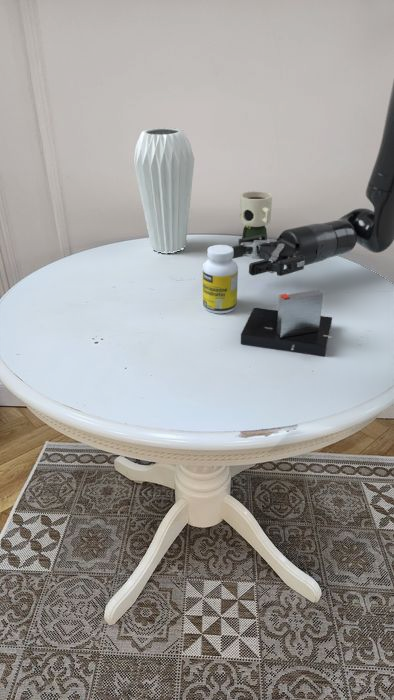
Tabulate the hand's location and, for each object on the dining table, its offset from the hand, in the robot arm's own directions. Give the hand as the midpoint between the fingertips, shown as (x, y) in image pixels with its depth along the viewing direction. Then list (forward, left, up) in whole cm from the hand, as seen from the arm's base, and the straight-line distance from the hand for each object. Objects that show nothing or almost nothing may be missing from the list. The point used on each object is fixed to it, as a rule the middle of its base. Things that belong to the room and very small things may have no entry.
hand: (237, 261), depth 98 cm
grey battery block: (-13, +12, -6) cm, 19 cm away
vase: (+23, -23, -9) cm, 34 cm away
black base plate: (-12, +11, -8) cm, 18 cm away
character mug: (+3, -27, -9) cm, 29 cm away
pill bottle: (+3, +3, -9) cm, 9 cm away
